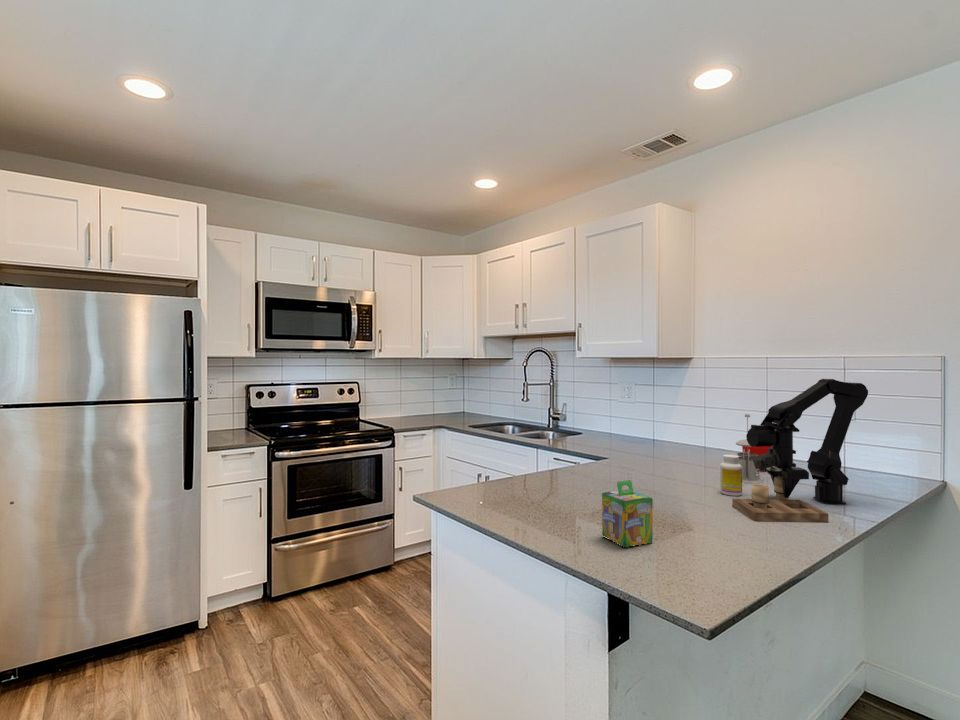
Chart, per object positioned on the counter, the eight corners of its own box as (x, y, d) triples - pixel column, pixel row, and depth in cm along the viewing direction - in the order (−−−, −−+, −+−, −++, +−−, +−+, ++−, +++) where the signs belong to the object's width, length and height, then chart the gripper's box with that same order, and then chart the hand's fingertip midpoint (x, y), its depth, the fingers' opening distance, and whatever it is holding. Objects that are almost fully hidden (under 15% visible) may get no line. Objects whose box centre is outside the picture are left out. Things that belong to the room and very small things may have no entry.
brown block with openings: (799, 507, 153) (799, 481, 153) (828, 522, 139) (828, 493, 139) (732, 506, 154) (732, 480, 154) (754, 521, 140) (754, 492, 140)
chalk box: (624, 549, 120) (624, 487, 120) (600, 537, 128) (600, 479, 128) (654, 543, 123) (654, 483, 123) (629, 532, 132) (629, 476, 132)
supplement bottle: (745, 496, 165) (744, 458, 165) (723, 495, 166) (723, 457, 166) (738, 491, 171) (738, 454, 171) (718, 490, 173) (717, 453, 173)
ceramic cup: (795, 472, 199) (795, 447, 199) (752, 473, 199) (752, 448, 199) (776, 466, 212) (776, 442, 212) (736, 466, 212) (736, 442, 212)
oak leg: (785, 501, 159) (785, 476, 159) (793, 505, 155) (793, 479, 155) (771, 501, 159) (771, 476, 159) (778, 505, 155) (778, 479, 155)
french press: (763, 479, 189) (763, 413, 189) (761, 485, 179) (761, 416, 179) (734, 476, 194) (734, 411, 194) (731, 482, 184) (730, 414, 184)
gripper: (742, 441, 167) (742, 487, 167) (771, 451, 148) (771, 503, 148) (776, 441, 166) (776, 488, 166) (810, 451, 147) (810, 504, 147)
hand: (782, 495), depth 157 cm, fingers closed on oak leg, 4 cm apart
